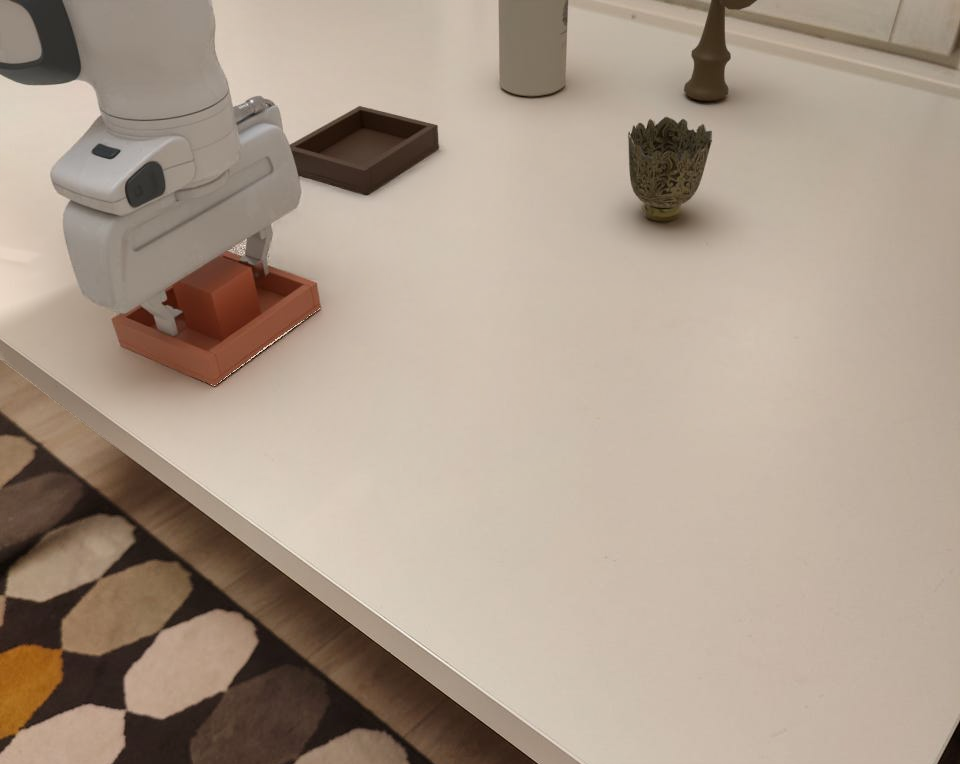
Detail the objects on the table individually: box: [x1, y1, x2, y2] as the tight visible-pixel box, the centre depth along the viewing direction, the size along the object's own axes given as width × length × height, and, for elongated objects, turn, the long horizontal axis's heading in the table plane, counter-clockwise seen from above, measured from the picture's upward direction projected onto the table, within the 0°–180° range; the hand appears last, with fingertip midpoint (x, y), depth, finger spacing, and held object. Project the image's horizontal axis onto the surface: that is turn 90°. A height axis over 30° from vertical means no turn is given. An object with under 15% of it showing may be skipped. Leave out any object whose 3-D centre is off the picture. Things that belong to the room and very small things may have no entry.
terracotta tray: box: [110, 250, 322, 387], centre depth 77 cm, size 13×11×3 cm
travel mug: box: [498, 0, 569, 98], centre depth 108 cm, size 8×8×18 cm
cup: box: [627, 116, 713, 223], centre depth 87 cm, size 8×7×8 cm
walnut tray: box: [289, 105, 440, 196], centre depth 100 cm, size 13×11×3 cm
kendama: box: [683, 0, 758, 102], centre depth 104 cm, size 6×10×20 cm, turn 18°
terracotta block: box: [172, 256, 261, 341], centre depth 76 cm, size 4×4×4 cm
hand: (216, 303), depth 76 cm, fingers open, 8 cm apart
